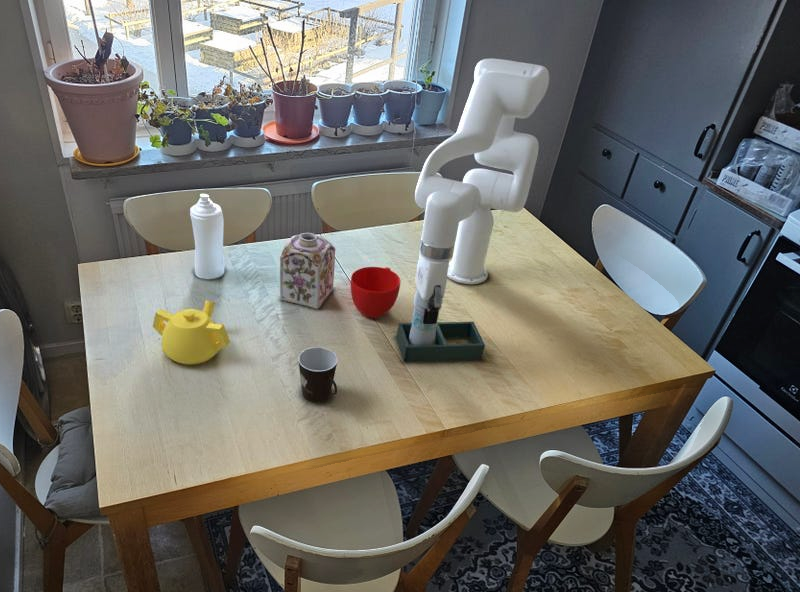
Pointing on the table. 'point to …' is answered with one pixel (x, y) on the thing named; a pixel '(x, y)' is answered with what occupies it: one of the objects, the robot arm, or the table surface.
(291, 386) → the table surface
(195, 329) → the teapot
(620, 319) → the table surface
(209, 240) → the spray can
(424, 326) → the bottle
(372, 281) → the ceramic cup
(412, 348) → the tray
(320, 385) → the coffee mug
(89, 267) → the table surface
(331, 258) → the decorative jar
